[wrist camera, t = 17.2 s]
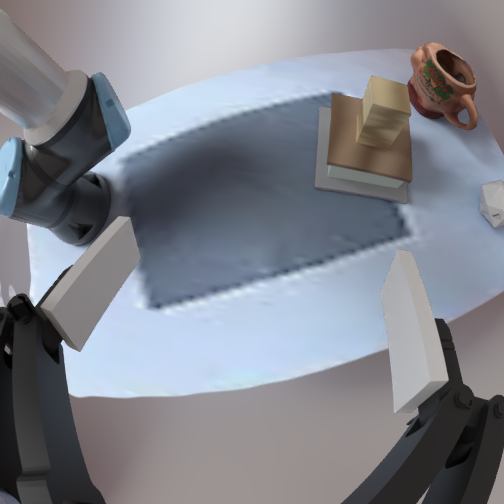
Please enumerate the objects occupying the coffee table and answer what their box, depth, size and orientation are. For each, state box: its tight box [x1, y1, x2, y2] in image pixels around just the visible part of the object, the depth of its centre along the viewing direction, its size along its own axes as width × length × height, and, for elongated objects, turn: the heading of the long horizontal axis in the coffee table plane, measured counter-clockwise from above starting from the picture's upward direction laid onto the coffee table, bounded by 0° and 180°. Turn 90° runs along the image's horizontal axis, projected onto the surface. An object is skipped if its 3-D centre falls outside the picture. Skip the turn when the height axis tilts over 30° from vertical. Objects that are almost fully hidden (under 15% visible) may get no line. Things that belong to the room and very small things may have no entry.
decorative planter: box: [407, 42, 478, 130], centre depth 36 cm, size 20×12×14 cm, turn 19°
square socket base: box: [314, 107, 408, 204], centre depth 40 cm, size 16×16×6 cm
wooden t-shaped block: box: [326, 75, 412, 183], centre depth 32 cm, size 13×13×11 cm
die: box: [479, 180, 504, 228], centre depth 35 cm, size 8×9×10 cm
